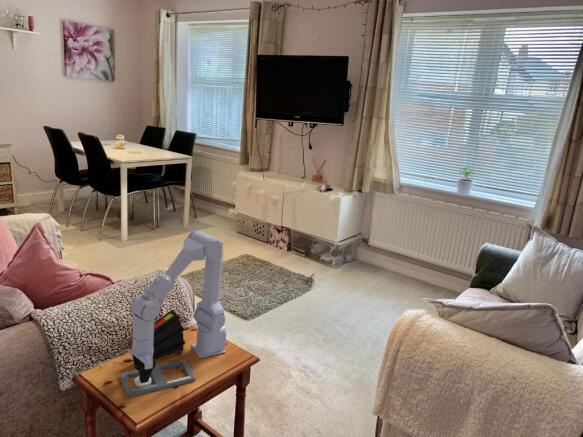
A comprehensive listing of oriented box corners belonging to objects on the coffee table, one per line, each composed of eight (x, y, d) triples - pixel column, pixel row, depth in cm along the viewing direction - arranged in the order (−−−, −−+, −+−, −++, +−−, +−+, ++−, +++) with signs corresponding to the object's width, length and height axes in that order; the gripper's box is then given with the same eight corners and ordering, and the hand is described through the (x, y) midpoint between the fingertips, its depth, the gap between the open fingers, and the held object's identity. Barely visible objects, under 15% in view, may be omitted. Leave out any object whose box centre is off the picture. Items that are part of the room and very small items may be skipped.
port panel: (184, 362, 141) (185, 358, 141) (195, 380, 133) (195, 377, 133) (120, 376, 130) (120, 372, 130) (127, 397, 123) (127, 394, 122)
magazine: (192, 343, 149) (178, 313, 140) (159, 369, 142) (142, 339, 134) (187, 338, 151) (172, 308, 143) (154, 363, 145) (137, 333, 136)
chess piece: (134, 377, 131) (135, 348, 128) (151, 376, 133) (153, 348, 130) (133, 388, 127) (135, 359, 124) (151, 386, 128) (153, 358, 125)
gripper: (123, 324, 128) (122, 363, 132) (134, 352, 117) (133, 394, 121) (147, 320, 132) (145, 359, 136) (161, 347, 120) (158, 388, 124)
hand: (141, 375), depth 128 cm, fingers open, 6 cm apart
